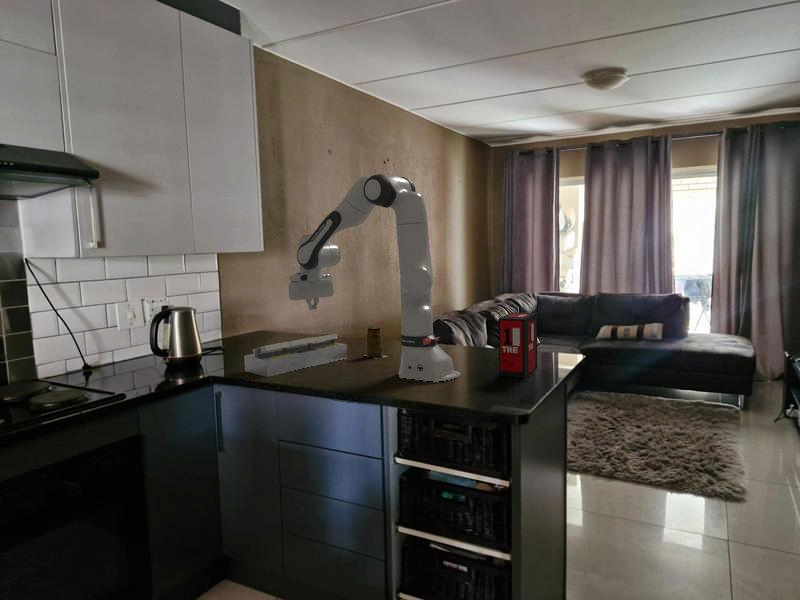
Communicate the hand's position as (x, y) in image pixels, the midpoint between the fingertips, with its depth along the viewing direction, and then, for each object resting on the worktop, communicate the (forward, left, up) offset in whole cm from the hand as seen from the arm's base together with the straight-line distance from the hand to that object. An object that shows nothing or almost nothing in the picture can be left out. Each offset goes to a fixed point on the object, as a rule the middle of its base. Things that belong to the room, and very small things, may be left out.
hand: (313, 309), depth 224 cm
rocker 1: (-2, +22, -12) cm, 25 cm away
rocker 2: (-2, +10, -12) cm, 16 cm away
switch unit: (-2, +10, -21) cm, 23 cm away
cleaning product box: (-77, -30, -21) cm, 85 cm away
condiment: (-16, -19, -21) cm, 32 cm away
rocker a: (-2, -2, -12) cm, 12 cm away
